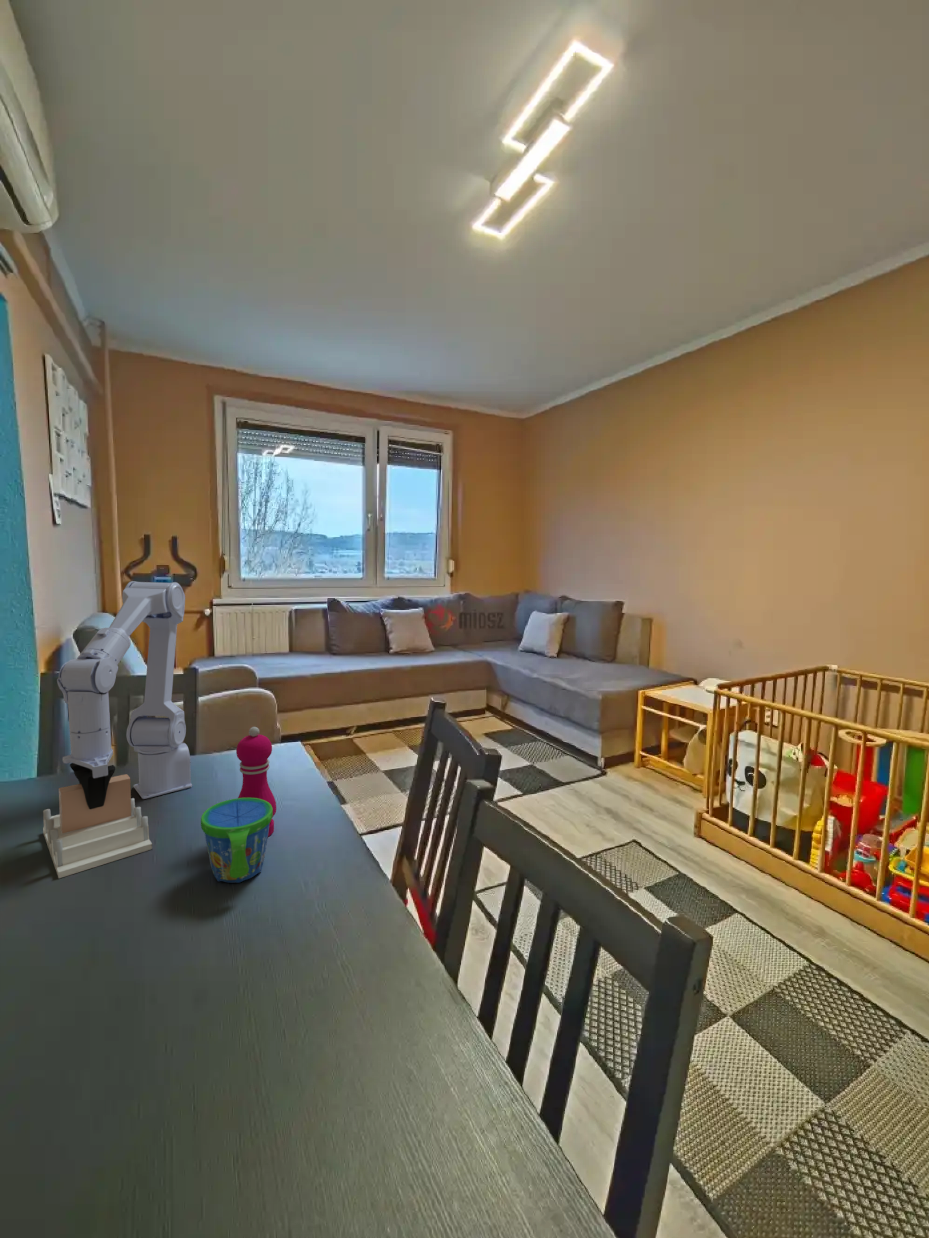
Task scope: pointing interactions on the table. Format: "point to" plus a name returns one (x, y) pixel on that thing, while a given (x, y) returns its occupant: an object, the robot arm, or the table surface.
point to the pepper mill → (256, 768)
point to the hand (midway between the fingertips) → (94, 803)
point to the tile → (80, 816)
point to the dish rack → (95, 841)
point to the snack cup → (237, 837)
